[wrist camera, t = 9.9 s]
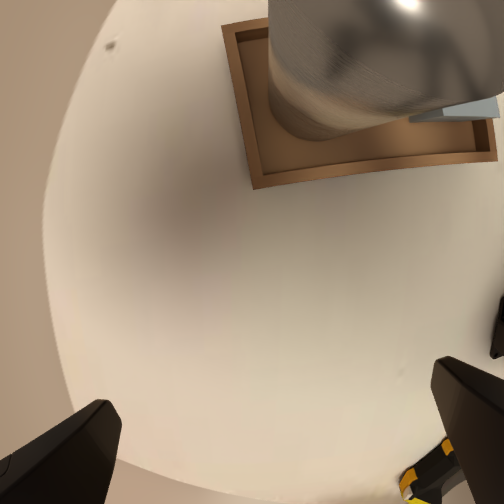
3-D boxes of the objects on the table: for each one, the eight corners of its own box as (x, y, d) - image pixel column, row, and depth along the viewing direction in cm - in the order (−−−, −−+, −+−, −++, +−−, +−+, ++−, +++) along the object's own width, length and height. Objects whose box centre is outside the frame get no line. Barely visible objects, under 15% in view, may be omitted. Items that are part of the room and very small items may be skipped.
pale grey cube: (448, 61, 14) (483, 46, 10) (461, 121, 15) (500, 117, 11) (395, 58, 14) (424, 37, 10) (409, 123, 15) (443, 115, 11)
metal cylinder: (348, 53, 14) (466, -85, 2) (366, 136, 16) (550, 110, 3) (260, 62, 15) (241, -113, 2) (277, 147, 16) (309, 107, 4)
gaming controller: (503, 423, 25) (472, 408, 24) (521, 450, 19) (493, 442, 18) (421, 492, 29) (377, 487, 28) (431, 520, 23) (386, 521, 22)
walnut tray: (443, 37, 15) (467, 23, 11) (468, 158, 17) (497, 161, 14) (228, 46, 16) (221, 25, 13) (255, 184, 19) (253, 189, 15)
